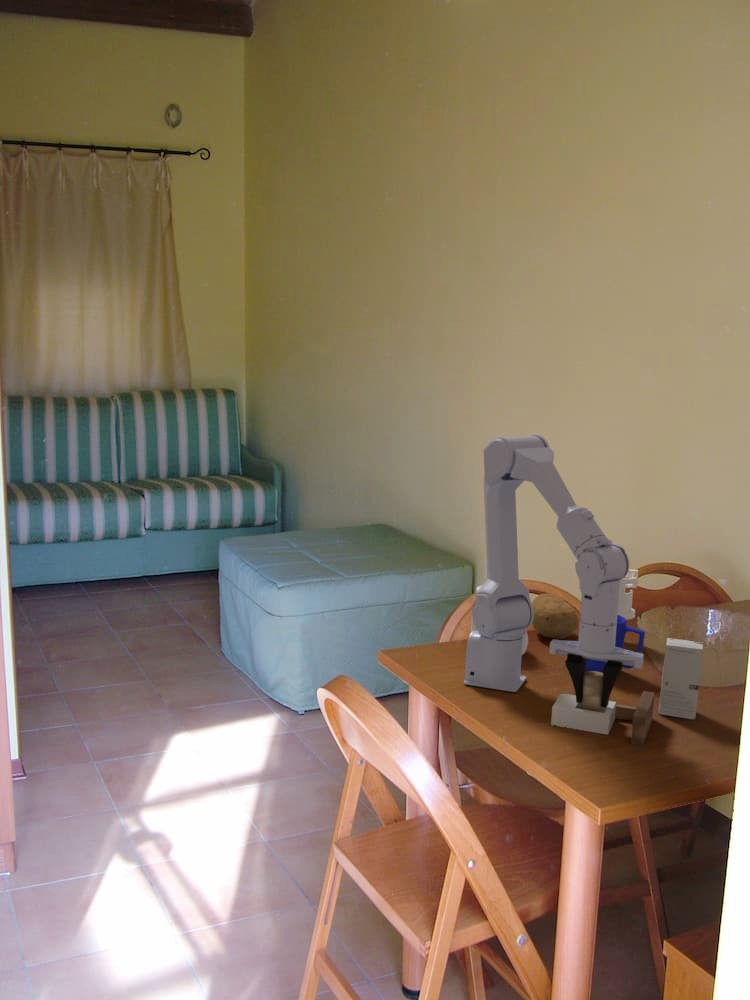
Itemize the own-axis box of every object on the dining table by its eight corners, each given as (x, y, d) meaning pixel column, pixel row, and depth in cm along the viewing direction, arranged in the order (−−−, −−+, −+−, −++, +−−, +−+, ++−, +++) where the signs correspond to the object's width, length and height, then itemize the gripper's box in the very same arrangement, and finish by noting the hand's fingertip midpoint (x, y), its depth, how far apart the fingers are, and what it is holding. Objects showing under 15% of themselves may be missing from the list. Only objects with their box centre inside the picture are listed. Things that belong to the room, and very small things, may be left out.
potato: (540, 648, 206) (543, 608, 205) (520, 627, 220) (522, 590, 218) (588, 647, 208) (591, 608, 206) (564, 626, 221) (567, 590, 220)
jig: (547, 729, 165) (548, 702, 164) (562, 704, 176) (563, 678, 175) (643, 745, 160) (645, 717, 159) (652, 718, 171) (654, 692, 170)
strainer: (635, 647, 209) (641, 574, 206) (600, 645, 209) (605, 572, 206) (629, 636, 216) (634, 565, 213) (594, 635, 216) (599, 564, 213)
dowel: (578, 714, 167) (581, 675, 166) (583, 708, 170) (586, 669, 169) (600, 718, 166) (603, 679, 164) (604, 711, 169) (607, 673, 168)
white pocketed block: (551, 725, 167) (552, 707, 166) (559, 710, 173) (561, 693, 173) (608, 734, 164) (609, 716, 163) (614, 719, 170) (616, 701, 169)
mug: (631, 685, 186) (635, 631, 185) (569, 670, 194) (573, 618, 192) (649, 674, 193) (653, 621, 191) (589, 659, 200) (592, 609, 198)
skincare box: (658, 715, 173) (664, 644, 170) (659, 706, 177) (665, 636, 175) (697, 720, 171) (703, 649, 169) (697, 711, 175) (703, 641, 173)
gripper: (649, 621, 166) (642, 703, 168) (559, 608, 172) (554, 687, 174) (641, 633, 159) (634, 717, 162) (548, 619, 165) (542, 701, 168)
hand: (592, 703), depth 167 cm, fingers closed on dowel, 3 cm apart
